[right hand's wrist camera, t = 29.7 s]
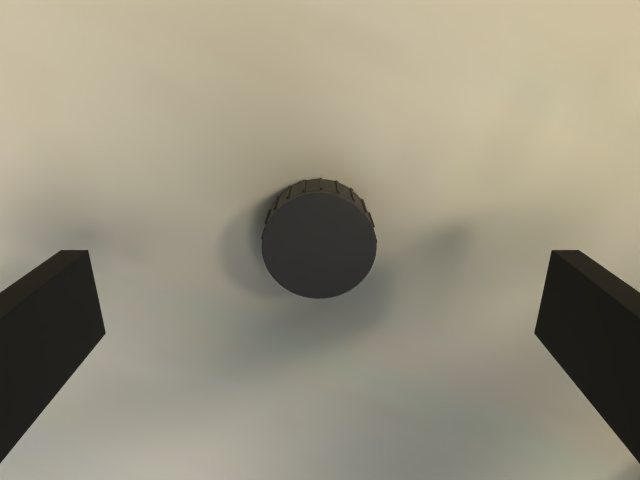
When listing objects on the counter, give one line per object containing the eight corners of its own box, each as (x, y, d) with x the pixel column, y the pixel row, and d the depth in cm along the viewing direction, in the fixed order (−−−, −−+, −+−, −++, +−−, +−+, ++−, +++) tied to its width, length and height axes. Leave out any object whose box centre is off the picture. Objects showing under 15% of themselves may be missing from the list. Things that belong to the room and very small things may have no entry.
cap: (298, 292, 18) (296, 317, 16) (245, 208, 16) (237, 226, 14) (388, 249, 17) (397, 270, 15) (341, 157, 16) (344, 169, 14)
